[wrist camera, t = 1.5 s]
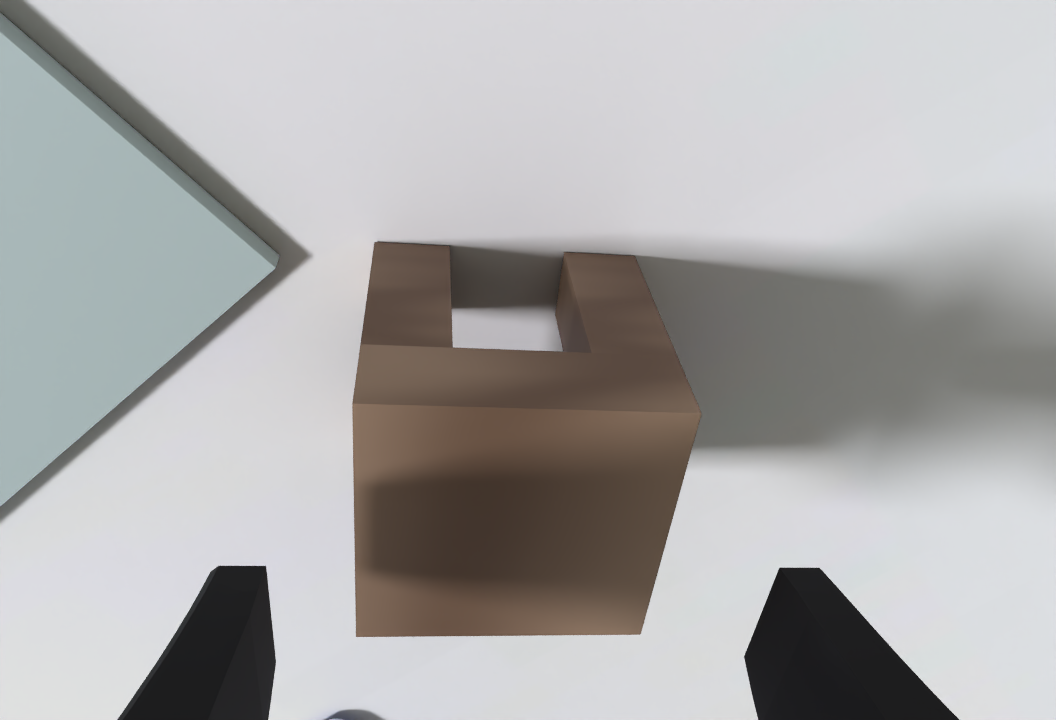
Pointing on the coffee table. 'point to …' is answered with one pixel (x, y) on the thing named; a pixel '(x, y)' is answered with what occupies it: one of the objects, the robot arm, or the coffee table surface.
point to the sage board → (94, 259)
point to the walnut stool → (513, 458)
